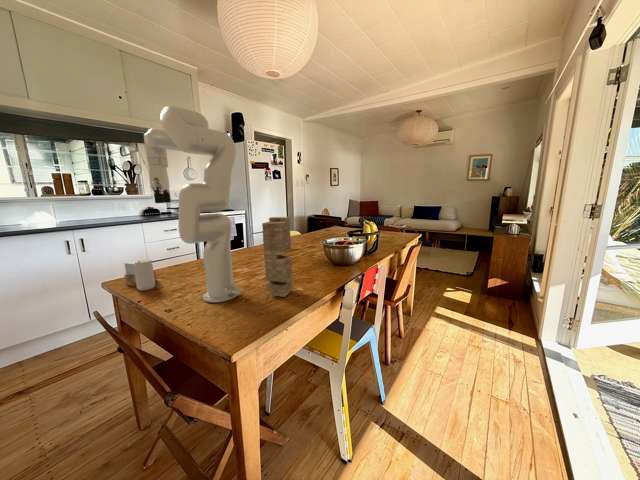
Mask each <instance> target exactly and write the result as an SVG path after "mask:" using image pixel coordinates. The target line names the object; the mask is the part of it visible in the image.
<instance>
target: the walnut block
mask: <svg viewBox="0 0 640 480" xmlns="http://www.w3.org/2000/svg"><path fill="white" fill-rule="evenodd" d="M153 272H154V279H155V282H156V281H157V275H156V270H155V269H153ZM124 280H125V281H124V282H125V285H126V286H132V287H137V285H136V278H135V275H129V274H126V273H124Z"/></svg>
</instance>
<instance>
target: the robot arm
mask: <svg viewBox="0 0 640 480" xmlns="http://www.w3.org/2000/svg"><path fill="white" fill-rule="evenodd" d="M160 124H161V126H162V129H161V128H160V129H159V128H150V129H148V131H147V132H146V133H144V134H143V142H144V148H145V152H146V153H145V154H146V159H147V160H146V161H147V162H146V163H147V167H148V173H149V175H148V176H149V185H150V188H151V190H153V197H154V203H155V204H165V203H167V204H168V203H169V204H170V203H171V193H170V181H169V175H168V170H167V168H169V164H168V163H169V162H168V155H167V150H168V151H176V152H178V151H179V152H181V151H182V152H184V153H187V154H194V155H200V156H201V155H203V156H209V157H210V156H211V157H212V158H211V159H210V160H209V161H208V162H207V164H206V165H205V167H204V172H203V180H202V181H203V182H202V183H197V182H196V183H195V182H194V183H187V184H184V185H183V186H182V187H181V189H180V191H179V195H178V234H179V237H180V239H181V240H182V242H184V243H185V244H191V245H192V244H193V245H194V244H199V243H205V242H206V244H205V246H204V248H203V264H204V265H203V266H204V273H205V274H204V275H205V282H206V283H205V284H206V292H205V293H204V294H203V296H202V298H203V300H204V301H205V302H207V303H223V302H226V301H231V300H232V299H235V298H236V297H237V296H240V295H241V294H242V291H243V289H242V287H237V284H236V283H235V282H234V275H233V264H232V251H231V236H232V221H231V219H230V218H229V217H228V216H227V215H226V214H223V213H220V212H221V211H224V210H226V209H227V208H228V207H229V203H230V196H231V194H230V193H231V185H232V184H231V183H232V172H233V167H234V163H235V160H236V155H237V152H236V150H237V149H236V145H235V142H234V141H235V140H233V138H232V137H231V136H230V135H229V134H228V133H225V132H223V131H220V130H217V129H212V128H209V122H208V120H207V118H206V117H205V116H204V115H203V114H202V113H200V112H199V111H195V110H192V109H187V108H183V107H179V106H174V105H168V106H165V107H164V108H163V109H162V111H161V113H160ZM211 212H215V213H211ZM216 212H219V213H216ZM201 213H204V214H201ZM205 213H206V214H205Z"/></svg>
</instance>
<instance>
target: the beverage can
mask: <svg viewBox="0 0 640 480" xmlns="http://www.w3.org/2000/svg"><path fill="white" fill-rule="evenodd" d="M137 260H138V261H135V260H134V261H135V262H134V263H135V264H134V272H135V278H136V285H137V286H136V288H137V290H139V291H141V292H145V291H149V290H152V289H154V287H155V286H156V281H155V279H154V272H153V270H154V266H153V261H152V262H151V260H152V259H149V258H145V260H139V259H137Z"/></svg>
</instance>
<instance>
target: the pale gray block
mask: <svg viewBox="0 0 640 480" xmlns="http://www.w3.org/2000/svg"><path fill="white" fill-rule="evenodd" d="M145 259H146V258H145ZM145 259H144V258H143V259H142V258H139V259H136V260H132V261H128V262H124V268H125V269H124V270H125V274H129V275H135V272H134V264H135V263H134V262H135V261H138V260H145ZM150 260H151V262H152V263H153V261H152V259H150Z"/></svg>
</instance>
